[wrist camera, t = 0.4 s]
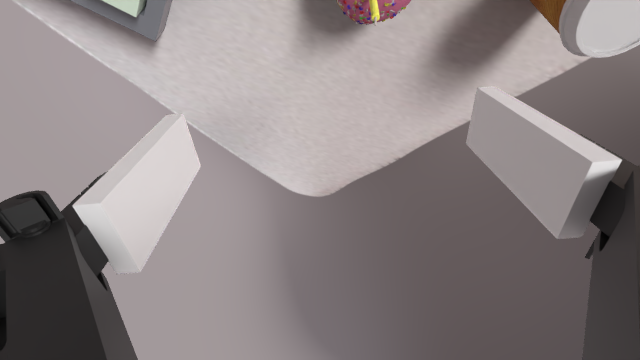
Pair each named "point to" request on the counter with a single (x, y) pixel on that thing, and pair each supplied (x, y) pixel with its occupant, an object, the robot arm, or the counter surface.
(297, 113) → the counter surface
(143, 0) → the key sage
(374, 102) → the counter surface
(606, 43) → the disposable coffee cup
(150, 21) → the keypad
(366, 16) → the cupcake
